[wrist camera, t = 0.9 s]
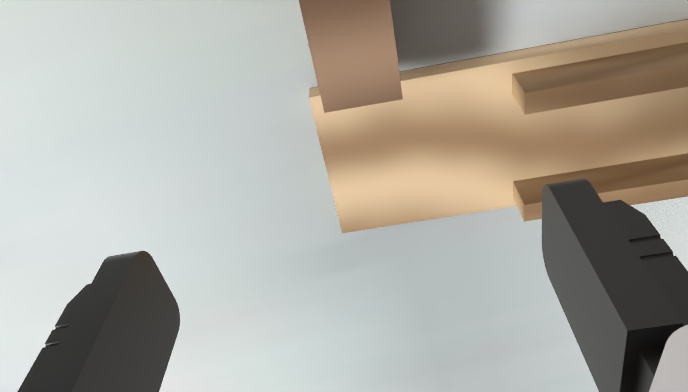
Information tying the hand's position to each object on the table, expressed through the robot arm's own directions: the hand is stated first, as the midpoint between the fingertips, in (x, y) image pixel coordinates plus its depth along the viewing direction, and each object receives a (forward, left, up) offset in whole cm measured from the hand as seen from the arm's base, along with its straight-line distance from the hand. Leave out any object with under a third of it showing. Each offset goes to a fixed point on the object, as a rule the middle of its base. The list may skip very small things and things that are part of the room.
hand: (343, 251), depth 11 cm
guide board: (+7, +9, -15) cm, 19 cm away
